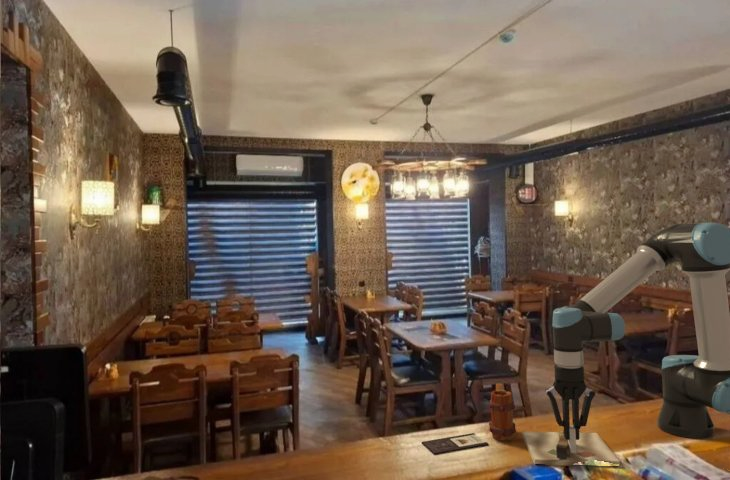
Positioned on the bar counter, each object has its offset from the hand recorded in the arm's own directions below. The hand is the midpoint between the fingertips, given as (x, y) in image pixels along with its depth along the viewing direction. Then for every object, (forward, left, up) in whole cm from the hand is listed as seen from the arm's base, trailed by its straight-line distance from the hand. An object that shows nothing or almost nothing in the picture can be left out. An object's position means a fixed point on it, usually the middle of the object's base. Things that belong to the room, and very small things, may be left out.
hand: (572, 450), depth 140 cm
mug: (+16, -19, -4) cm, 25 cm away
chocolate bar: (+31, -11, -4) cm, 34 cm away
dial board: (-1, -8, -3) cm, 9 cm away
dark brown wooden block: (+1, -4, -2) cm, 4 cm away
